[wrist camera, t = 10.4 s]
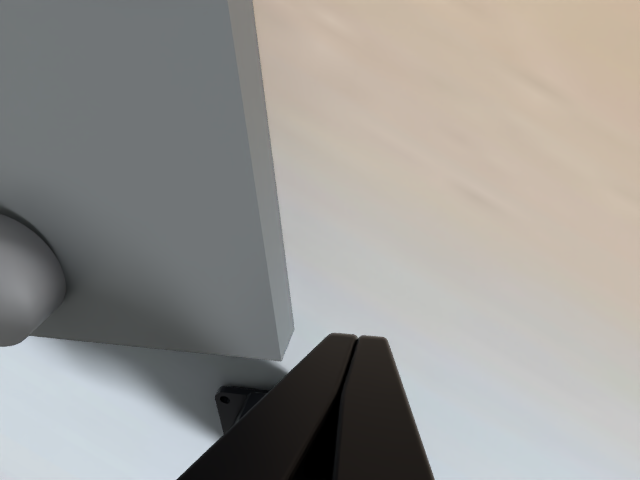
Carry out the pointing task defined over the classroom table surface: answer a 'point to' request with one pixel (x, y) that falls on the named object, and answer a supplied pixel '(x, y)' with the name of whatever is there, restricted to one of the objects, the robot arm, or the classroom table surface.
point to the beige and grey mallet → (26, 281)
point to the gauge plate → (146, 171)
